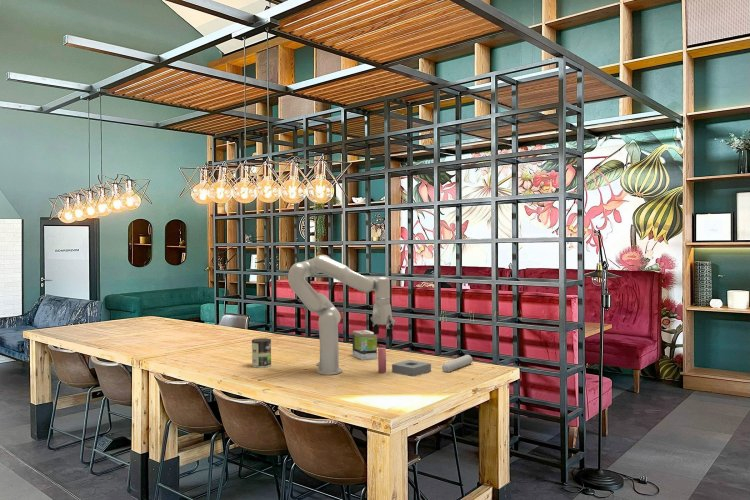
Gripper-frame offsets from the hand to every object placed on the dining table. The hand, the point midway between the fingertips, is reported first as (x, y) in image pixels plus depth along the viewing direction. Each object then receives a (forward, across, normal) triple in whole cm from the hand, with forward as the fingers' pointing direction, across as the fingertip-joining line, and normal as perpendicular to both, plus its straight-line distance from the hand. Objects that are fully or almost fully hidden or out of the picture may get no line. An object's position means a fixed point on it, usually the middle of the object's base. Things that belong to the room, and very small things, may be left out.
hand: (382, 335), depth 290 cm
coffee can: (+19, -59, -34) cm, 71 cm away
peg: (+19, -2, +1) cm, 19 cm away
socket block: (+19, +8, +12) cm, 24 cm away
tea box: (+19, -36, +20) cm, 46 cm away
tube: (+19, +19, +35) cm, 44 cm away
